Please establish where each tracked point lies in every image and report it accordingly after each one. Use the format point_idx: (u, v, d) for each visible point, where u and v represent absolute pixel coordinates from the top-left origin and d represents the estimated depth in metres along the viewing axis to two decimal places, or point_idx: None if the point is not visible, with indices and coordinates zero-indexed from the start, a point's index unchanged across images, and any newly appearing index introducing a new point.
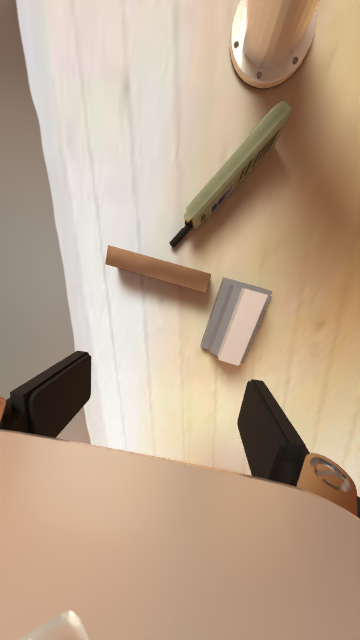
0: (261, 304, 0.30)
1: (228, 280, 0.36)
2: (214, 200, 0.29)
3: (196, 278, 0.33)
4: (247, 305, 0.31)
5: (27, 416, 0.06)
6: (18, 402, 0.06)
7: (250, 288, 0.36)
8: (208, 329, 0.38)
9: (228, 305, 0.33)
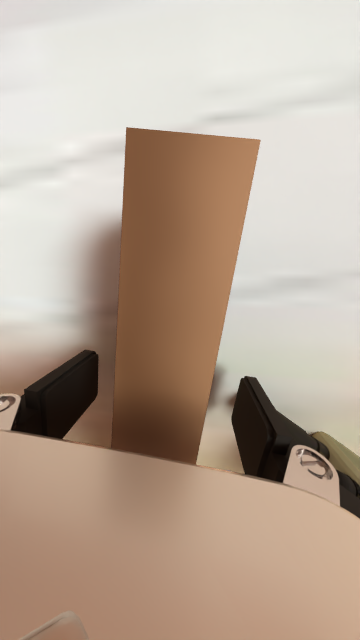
0: None
1: None
2: None
3: None
4: None
5: (40, 413, 0.07)
6: (32, 399, 0.07)
7: None
8: None
9: None
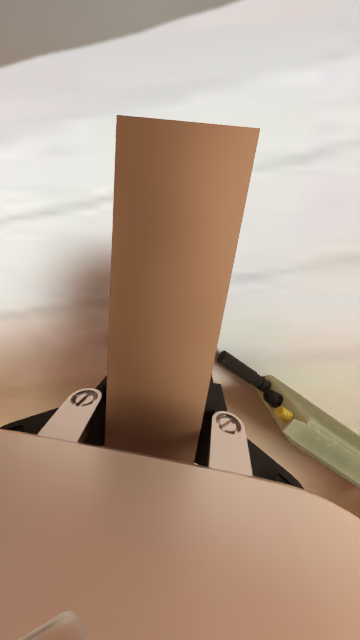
0: None
1: None
2: None
3: None
4: None
5: None
6: None
7: None
8: None
9: None
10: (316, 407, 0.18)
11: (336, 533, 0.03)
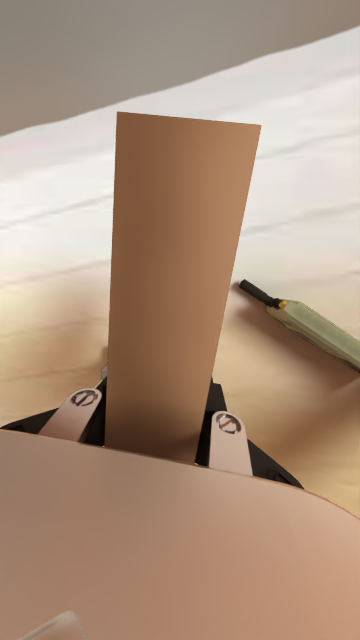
0: None
1: None
2: (311, 336, 0.21)
3: None
4: None
5: None
6: None
7: None
8: None
9: None
10: None
11: (336, 533, 0.03)
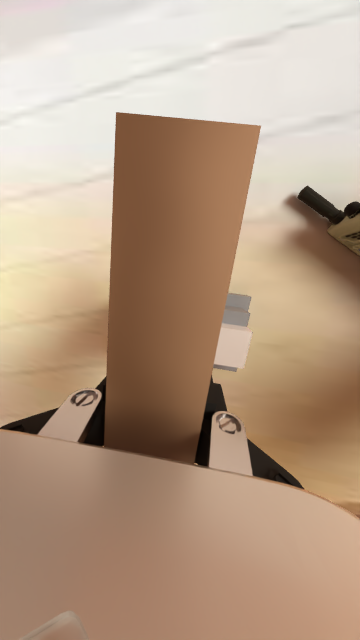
0: (226, 362, 0.18)
1: (246, 303, 0.22)
2: None
3: None
4: (222, 341, 0.18)
5: None
6: None
7: None
8: None
9: None
10: None
11: (336, 533, 0.03)
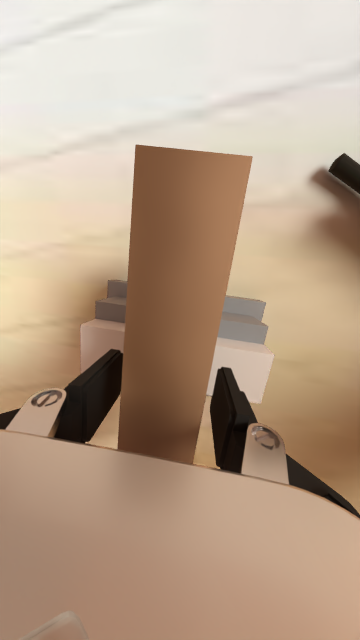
0: None
1: (260, 311, 0.17)
2: None
3: None
4: (231, 367, 0.13)
5: (82, 406, 0.07)
6: (75, 393, 0.07)
7: None
8: None
9: None
10: None
11: (336, 533, 0.03)
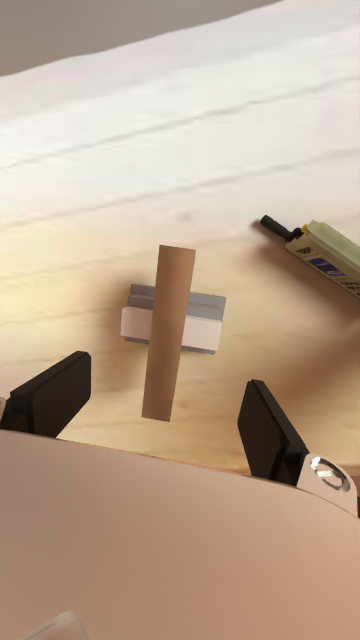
0: (204, 345, 0.25)
1: (223, 303, 0.29)
2: (332, 257, 0.23)
3: (160, 402, 0.21)
4: (201, 330, 0.24)
5: (27, 416, 0.06)
6: (18, 402, 0.06)
7: None
8: None
9: (196, 308, 0.26)
10: None
11: (336, 533, 0.03)
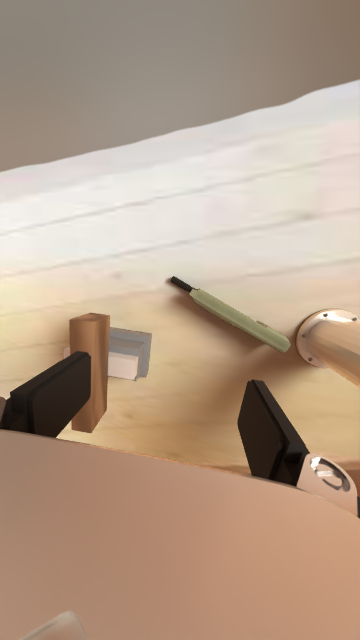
0: (124, 376, 0.34)
1: (147, 340, 0.38)
2: (212, 312, 0.32)
3: (83, 419, 0.30)
4: (120, 365, 0.33)
5: (27, 416, 0.06)
6: (18, 402, 0.06)
7: (144, 359, 0.39)
8: None
9: (120, 347, 0.35)
10: None
11: (336, 533, 0.03)
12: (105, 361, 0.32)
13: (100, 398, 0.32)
